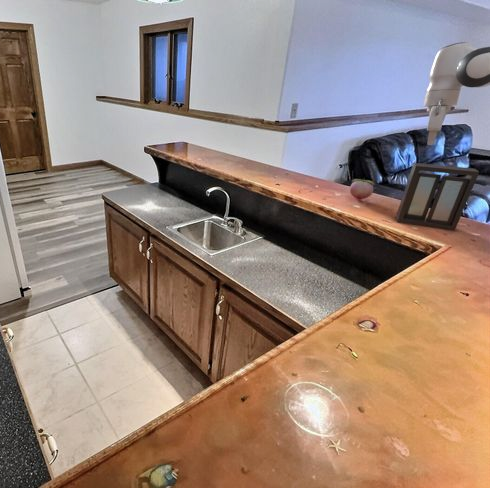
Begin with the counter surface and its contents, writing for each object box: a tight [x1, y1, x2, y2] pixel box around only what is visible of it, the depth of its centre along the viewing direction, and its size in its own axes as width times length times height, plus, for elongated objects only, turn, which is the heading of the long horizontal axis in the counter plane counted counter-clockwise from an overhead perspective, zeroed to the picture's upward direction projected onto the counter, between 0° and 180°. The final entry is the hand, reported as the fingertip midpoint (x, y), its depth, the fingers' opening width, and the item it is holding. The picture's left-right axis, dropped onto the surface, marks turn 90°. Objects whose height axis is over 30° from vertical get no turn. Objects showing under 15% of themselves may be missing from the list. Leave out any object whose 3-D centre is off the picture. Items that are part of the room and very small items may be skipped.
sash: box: [404, 171, 442, 219], centre depth 130 cm, size 7×5×17 cm
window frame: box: [395, 162, 480, 231], centre depth 126 cm, size 18×5×22 cm, turn 65°
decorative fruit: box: [349, 177, 376, 201], centre depth 153 cm, size 9×8×10 cm
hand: (430, 144), depth 119 cm, fingers open, 8 cm apart
